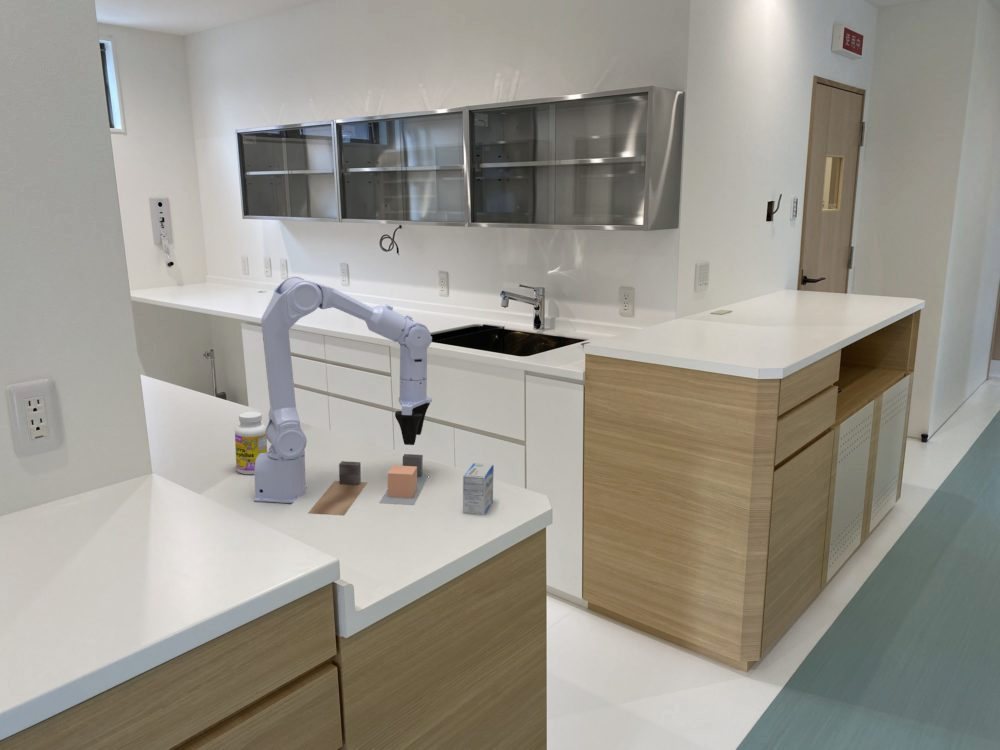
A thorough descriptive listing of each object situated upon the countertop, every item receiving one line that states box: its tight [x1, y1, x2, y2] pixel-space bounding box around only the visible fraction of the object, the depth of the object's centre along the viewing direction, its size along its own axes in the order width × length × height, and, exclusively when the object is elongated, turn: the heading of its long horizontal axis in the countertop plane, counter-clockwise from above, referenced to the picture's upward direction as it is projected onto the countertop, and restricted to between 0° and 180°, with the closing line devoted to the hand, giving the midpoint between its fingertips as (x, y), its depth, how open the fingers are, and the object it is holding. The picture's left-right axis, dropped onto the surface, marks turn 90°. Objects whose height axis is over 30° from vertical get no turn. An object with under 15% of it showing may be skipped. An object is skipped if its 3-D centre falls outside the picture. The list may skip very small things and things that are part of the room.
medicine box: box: [462, 462, 495, 516], centre depth 147 cm, size 8×4×9 cm, turn 168°
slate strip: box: [378, 453, 430, 506], centre depth 157 cm, size 7×18×5 cm, turn 176°
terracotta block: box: [387, 464, 417, 498], centre depth 153 cm, size 5×5×5 cm
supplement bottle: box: [234, 411, 268, 475], centre depth 166 cm, size 7×7×13 cm
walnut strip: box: [307, 460, 368, 516], centre depth 150 cm, size 7×18×5 cm, turn 176°
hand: (412, 439), depth 163 cm, fingers open, 7 cm apart
